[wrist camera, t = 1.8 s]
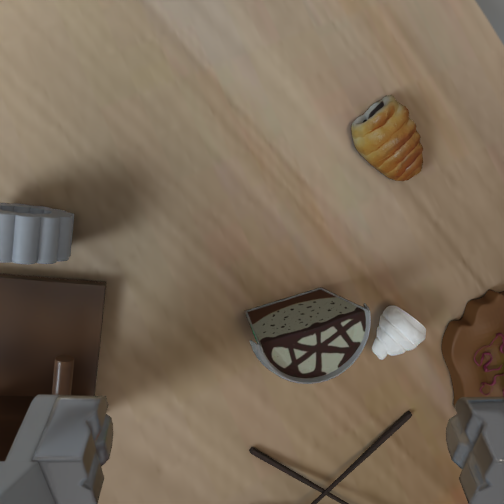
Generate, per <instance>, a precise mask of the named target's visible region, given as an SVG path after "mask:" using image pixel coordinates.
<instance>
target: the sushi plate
mask: <svg viewBox="0 0 504 504" xmlns="http://www.w3.org/2000/svg"><path fill="white" fill-rule="evenodd" d="M411 416H412V414H411V412H409V411H408V412H406V413H405V414H404V415H403V416H402V417H401V418H400V419H399V420H398V421H397V422H396V423H394V424H393V425H392V426H391V427H390V428H389V429H388V430H387V431H386V432H385V433H384V434H383V435H382V436H381V437H380V438H379V439H378V440H377V441H376V442H375V443H374V444H372V445H371V446H370V447H369V448H368V449H367V450H366V451H365V452H364V453H363V454H362V455H361V456H360V457H359V458H358V459H357V460H356V461H355V462H354V463H353V464H352V465H351V466H350V467H349V468H348V469H347V470H346V471H345V472H344V473H343V474H342V475H341V476H340V477H339V478H337V479H336V480H335V481H334V482H333V483H332V484H331V485H330V486H329V487H328V488H327V489H326V490H324V489H323V488H321V487H319V486H318V485H316V484H314V483H313V482H311V481H309V480H308V479H306V478H304V477H303V476H301V475H299V474H297V473H296V472H294V471H292V470H291V469H289V468H287V467H286V466H284V465H282V464H281V463H279V462H277V461H275V460H274V459H272V458H270V457H269V456H267V455H265V454H263V453H262V452H260V451H258V450H256V449H255V448H252V447H251V449H250V450H249V451H250V453H251V454H252V455H254V456H256V457H258V458H260V459H261V460H263V461H265V462H267V463H268V464H270V465H272V466H274V467H276V468H278V469H279V470H281V471H283V472H285V473H287V474H288V475H290V476H292V477H294V478H296V479H297V480H299V481H301V482H303V483H305V484H307V485H308V486H310V487H312V488H314V489H316V490H318V491H319V492H321V493H322V494H321V495H320V496H319V497H318V498H317V499H315V500H314V501H313V502H312V503H311V504H317V503H318V502H319V501H320V500H321V499H322V498H323V497H324V496H325V495H327V496H329V497H330V498H332V499H334V500H336V501H337V502H339V503H341V504H348V503H347V502H345V501H343V500H341V499H340V498H338V497H336V496H335V495H333V494H331V493H330V491H331V490H332V489H333V488H334V487H335V486H336V485H337V484H338V483H339V482H341V481H342V480H343V479H344V478H345V477H346V476H347V475H348V474H349V473H350V472H352V471H353V470H354V469H355V468H356V467H357V466H358V465H359V464H360V463H362V462H363V461H364V460H365V459H366V458H367V457H368V456H369V455H370V454H372V453H373V452H374V451H375V450H376V449H377V448H378V447H379V446H380V445H381V444H382V443H384V442H385V441H386V440H387V439H388V438H389V437H390V436H391V435H392V434H393V433H394V432H396V431H397V430H398V429H399V428H400V427H401V426H402V425H403V424H404V423H405V422H406V421H407V420H408V419H410V418H411Z"/></svg>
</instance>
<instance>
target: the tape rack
mask: <svg viewBox="0 0 504 504" xmlns="http://www.w3.org/2000/svg"><path fill="white" fill-rule="evenodd" d="M105 290H106V282H98V281H86V280H73V279H61V278H49V277H37V276H24V275H12V274H0V461H5V460H6V457H7V455H8V453H9V451H10V449H11V446H12V444H13V442H14V440H15V437H16V435H17V433H18V431H19V428H20V426H21V424H22V422H23V420H24V417H25V415H26V413H27V411H28V408H29V406H30V404H31V402H32V400H33V399H34V398H35V397H36V396H37V395H84V396H94V395H95V386H96V376H97V367H98V357H99V348H100V338H101V328H102V319H103V309H104V300H105Z"/></svg>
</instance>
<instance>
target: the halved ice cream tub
mask: <svg viewBox="0 0 504 504" xmlns="http://www.w3.org/2000/svg"><path fill="white" fill-rule="evenodd" d="M245 313H246V316H247V319H248V322H249V324H250V326H251V329H252V331H253V334H254V336H255V339H256V341H257V343H258V344H256V343H255V342H253V341H252V340H250V343H251V346H252V349H253V351H254V353H255V355H256V356H257V358H258V359H259V360H260V362H261V363H262V364H263V365H264V366H265V367H266V368H267V369H269V370H270V371H271V372H273V373H275V374H276V375H278V376H279V377H281V378H283V379H286V380H288V381H291V382H296V383H304V384H313V383H320V382H323V381H327V380H330V379H332V378H334V377H336V376H338V375H339V374H341V373H343V372H344V371H345V370H346V369H348V368H349V367H350V366H351V365H352V364H353V363H354V362H355V361H356V359H357V358H358V357H359V355H360V354H361V352H362V350H363V348H364V346H365V345H366V342H367V339H368V336H369V331H370V323H371V316H370V311H369V307H368V306H367V305H366V304H365V303H364V307H362V306H360V305H358V304H355V303H353V302H351V301H349V300H347V299H345V298H343V297H340V296H338V295H336V294H334V293H332V292H330V291H328V290H325V289H323V288H321V287H320V288H317V289H314V290H311V291H308V292H304V293H301V294H298V295H295V296H292V297H288V298H285V299H282V300H279V301H275V302H272V303H269V304H266V305H263V306H259V307H256V308H253V309H250V310H246V311H245Z"/></svg>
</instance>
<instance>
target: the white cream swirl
mask: <svg viewBox="0 0 504 504" xmlns="http://www.w3.org/2000/svg"><path fill="white" fill-rule="evenodd" d="M376 334H377V337H376V338H375V340H374V343H373V346H372V351H373V353H374V354H376V355H377V356H378V358H379V359H381V360H382V359H384V358H385V357H386V356H387V354H389V355H391V356H394V355H399V354H402V353H404V352H405V350H407V351H409V350H412V349H414V348H416V347H417V345H419V344H420V343H421V342H422V341H423V340H425V336H426V328H425V327H424V326H423V325H422V324H421V323H420V322H418V321H417V320H416V319H415V318H413V317H412V316H411V315H410V314H408V313H407V312H405V311H404V310H402V309H401V308H399V307H397V306H395V305H394V306H388V307H387V308H386V309H385V310H384V311H383V314H382V315H381V316H380V320H379V326H378V327H377V332H376Z"/></svg>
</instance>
